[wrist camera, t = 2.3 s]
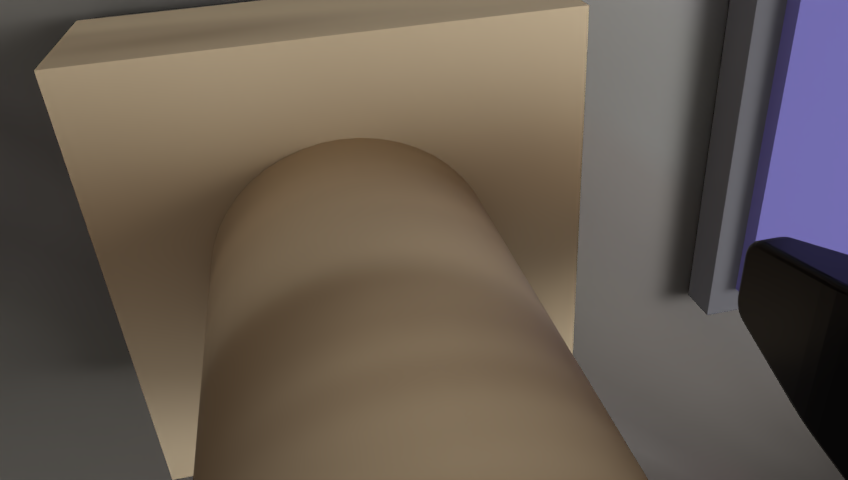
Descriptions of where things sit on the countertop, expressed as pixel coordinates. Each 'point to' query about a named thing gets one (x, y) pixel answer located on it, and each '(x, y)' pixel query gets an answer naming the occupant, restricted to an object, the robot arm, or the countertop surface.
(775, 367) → the robot arm
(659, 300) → the countertop surface
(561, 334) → the stamp
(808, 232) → the ink pad
